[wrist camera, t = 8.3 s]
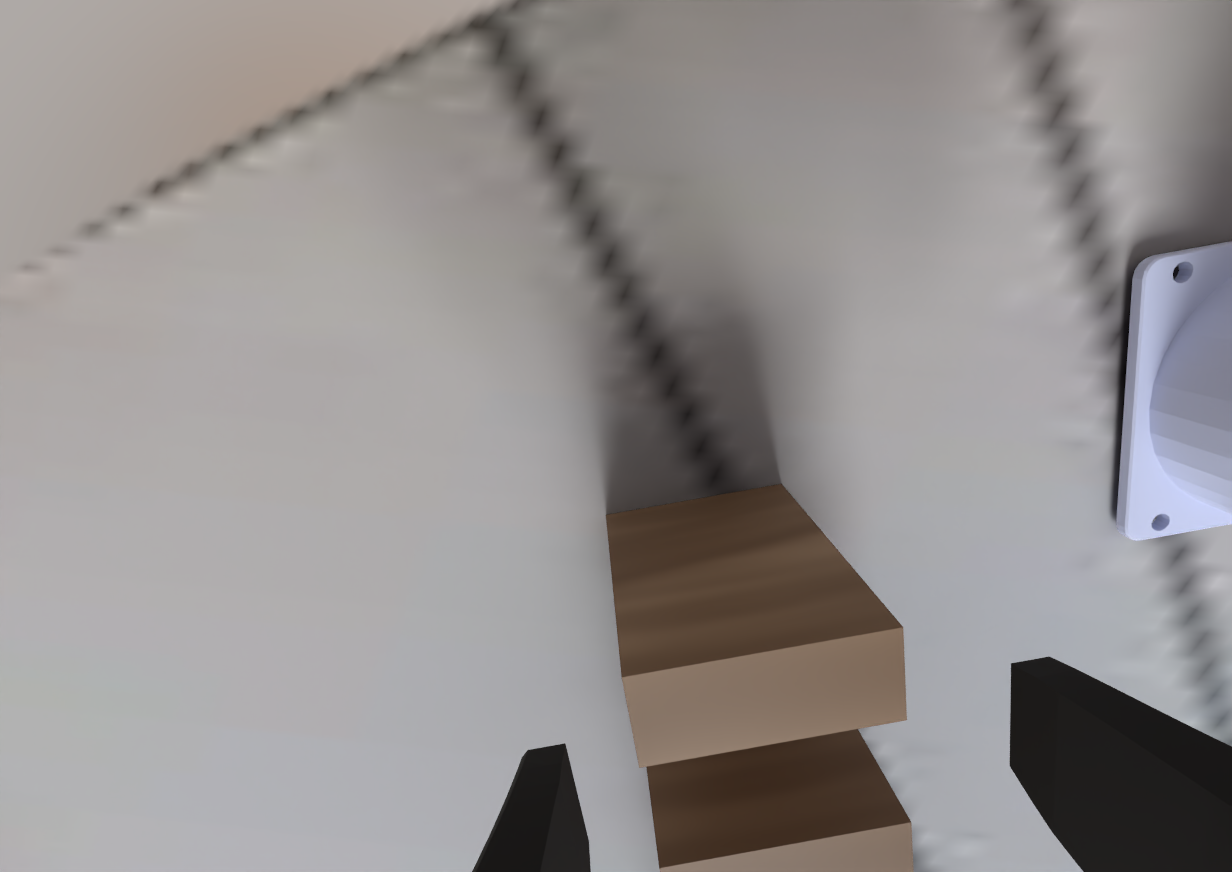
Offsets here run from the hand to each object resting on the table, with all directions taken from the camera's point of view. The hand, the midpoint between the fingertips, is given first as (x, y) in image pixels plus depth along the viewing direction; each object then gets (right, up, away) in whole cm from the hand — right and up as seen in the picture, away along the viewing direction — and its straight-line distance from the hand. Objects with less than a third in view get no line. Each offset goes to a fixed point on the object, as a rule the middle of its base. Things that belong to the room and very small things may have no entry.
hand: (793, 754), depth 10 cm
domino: (0, -2, +9) cm, 9 cm away
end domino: (-1, +2, +8) cm, 8 cm away
